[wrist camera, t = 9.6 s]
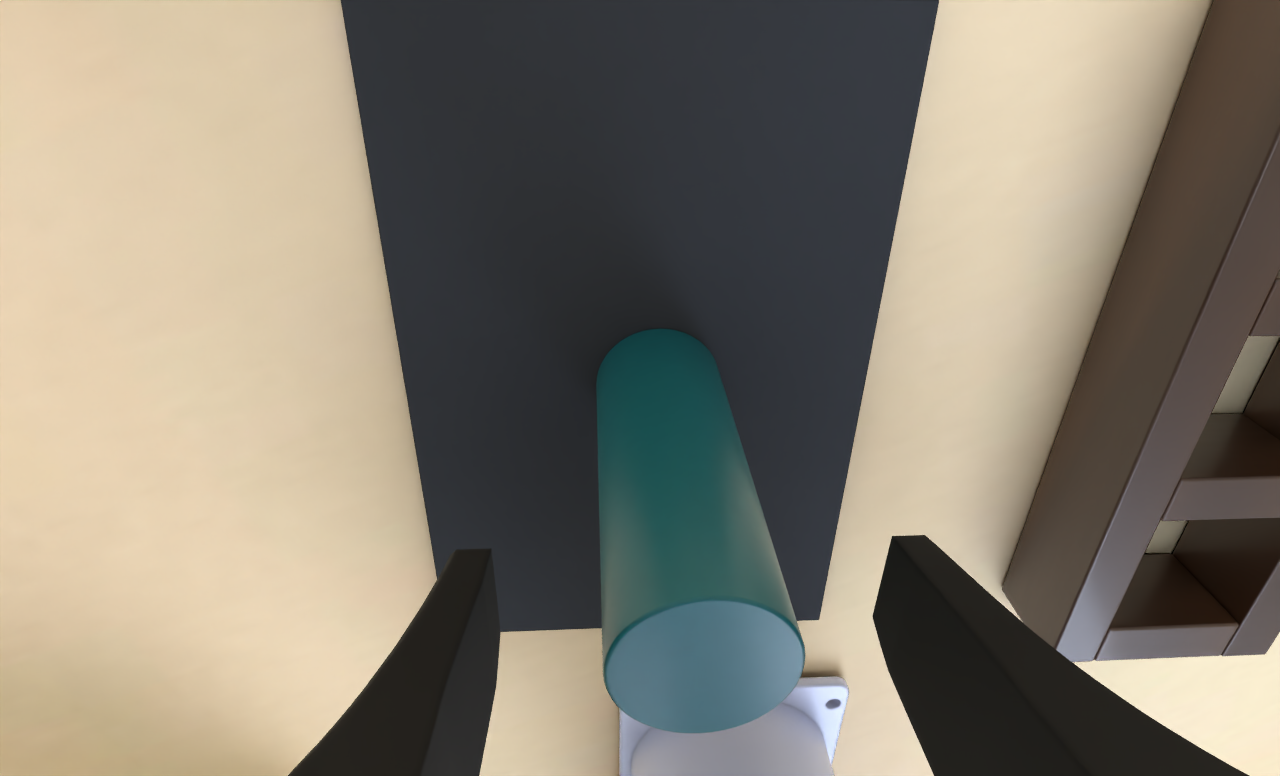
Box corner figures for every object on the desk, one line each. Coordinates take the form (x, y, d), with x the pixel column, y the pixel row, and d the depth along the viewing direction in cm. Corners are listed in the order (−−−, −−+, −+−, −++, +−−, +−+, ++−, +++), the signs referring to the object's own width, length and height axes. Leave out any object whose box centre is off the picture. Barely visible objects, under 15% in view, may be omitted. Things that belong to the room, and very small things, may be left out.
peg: (714, 432, 20) (793, 731, 13) (596, 435, 20) (603, 739, 12) (723, 326, 19) (819, 594, 11) (595, 328, 19) (601, 601, 11)
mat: (816, 611, 25) (819, 620, 24) (447, 624, 24) (446, 634, 24) (932, -2, 16) (940, -1, 15) (344, -11, 15) (338, -9, 15)
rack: (1515, -10, 16) (1689, -1, 14) (1196, 582, 25) (1265, 655, 23) (1217, -14, 16) (1339, -6, 13) (1000, 589, 25) (1048, 664, 22)
